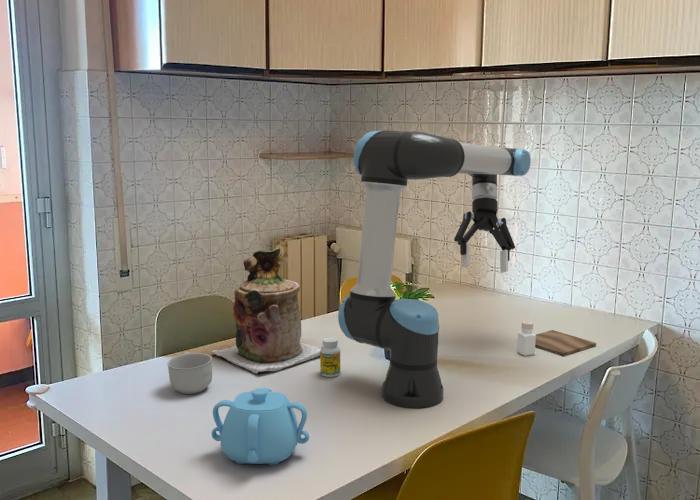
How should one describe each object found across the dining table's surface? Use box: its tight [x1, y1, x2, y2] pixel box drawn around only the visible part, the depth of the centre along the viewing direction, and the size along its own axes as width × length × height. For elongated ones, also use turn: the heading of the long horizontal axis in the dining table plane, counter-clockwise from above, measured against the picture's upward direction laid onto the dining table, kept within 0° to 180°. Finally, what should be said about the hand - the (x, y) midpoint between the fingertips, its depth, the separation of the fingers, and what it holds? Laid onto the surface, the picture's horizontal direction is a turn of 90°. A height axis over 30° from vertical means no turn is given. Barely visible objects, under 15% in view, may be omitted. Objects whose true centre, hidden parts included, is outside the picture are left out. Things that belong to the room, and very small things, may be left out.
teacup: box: [166, 351, 213, 395], centre depth 172 cm, size 14×11×8 cm
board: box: [535, 329, 597, 357], centre depth 209 cm, size 16×16×1 cm
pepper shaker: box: [516, 320, 536, 356], centre depth 199 cm, size 4×4×10 cm
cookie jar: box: [211, 247, 321, 374], centre depth 194 cm, size 25×25×32 cm
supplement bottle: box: [319, 337, 341, 378], centre depth 182 cm, size 5×5×10 cm
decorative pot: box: [211, 387, 310, 466], centre depth 138 cm, size 16×16×14 cm
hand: (485, 269), depth 201 cm, fingers open, 13 cm apart
